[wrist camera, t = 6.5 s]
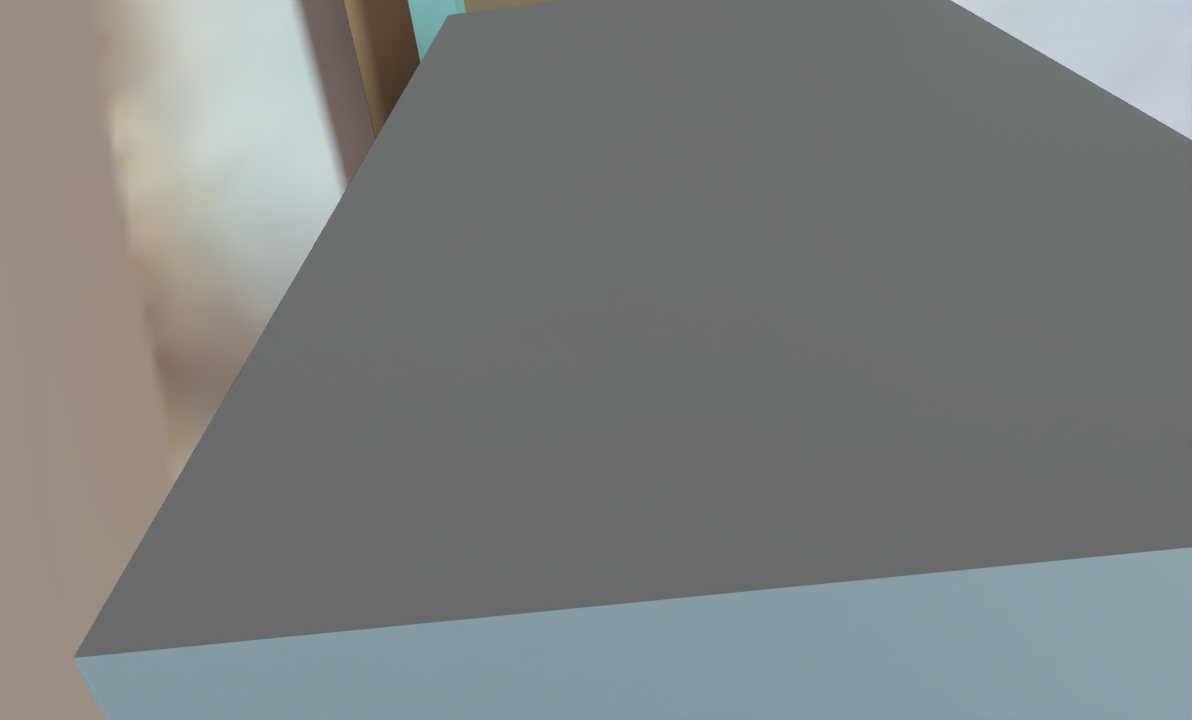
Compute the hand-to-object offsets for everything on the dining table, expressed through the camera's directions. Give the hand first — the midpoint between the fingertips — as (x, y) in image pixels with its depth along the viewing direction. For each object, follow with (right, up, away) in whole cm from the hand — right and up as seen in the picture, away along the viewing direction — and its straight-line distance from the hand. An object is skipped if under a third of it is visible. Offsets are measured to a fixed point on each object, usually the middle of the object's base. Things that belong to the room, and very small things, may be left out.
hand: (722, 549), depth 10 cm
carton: (0, +2, +3) cm, 3 cm away
